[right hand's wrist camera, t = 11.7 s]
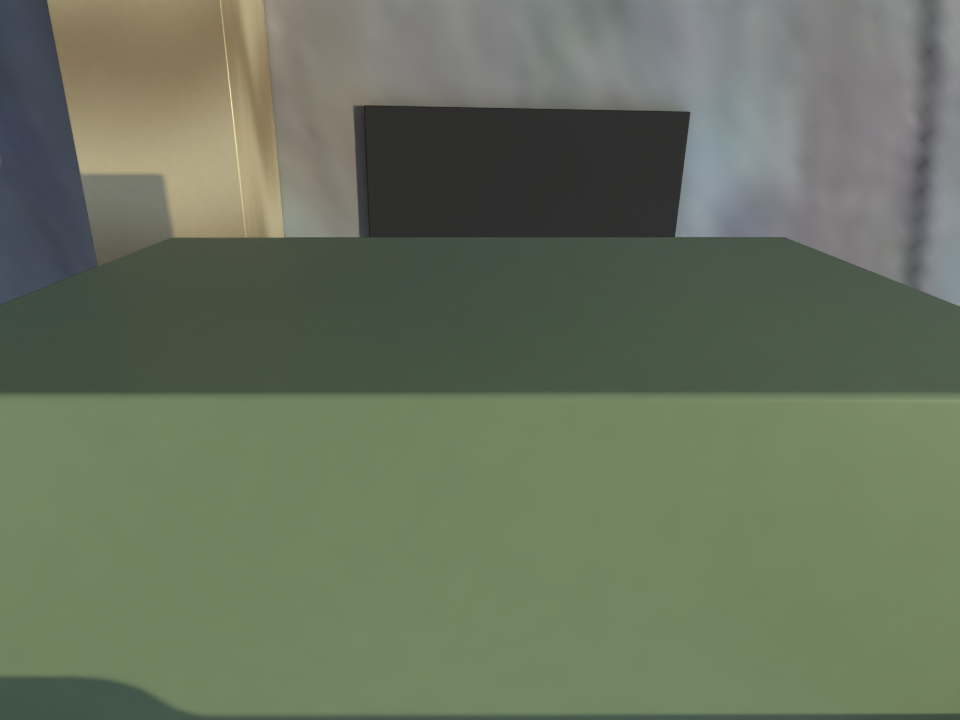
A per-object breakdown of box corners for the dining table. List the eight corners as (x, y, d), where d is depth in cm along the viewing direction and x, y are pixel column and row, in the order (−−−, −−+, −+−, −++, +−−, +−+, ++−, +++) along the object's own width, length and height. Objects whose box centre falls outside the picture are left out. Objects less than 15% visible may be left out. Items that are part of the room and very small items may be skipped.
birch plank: (295, 353, 32) (263, 394, 27) (173, 351, 32) (121, 391, 27) (234, -337, 23) (171, -453, 18) (63, -341, 23) (-43, -459, 18)
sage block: (720, 634, 15) (915, 1050, 8) (236, 634, 15) (40, 1052, 8) (786, 236, 12) (1190, 393, 5) (168, 236, 12) (-242, 396, 5)
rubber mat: (651, 405, 33) (653, 408, 33) (377, 400, 33) (376, 404, 33) (687, 111, 28) (690, 111, 28) (365, 105, 28) (364, 105, 28)
